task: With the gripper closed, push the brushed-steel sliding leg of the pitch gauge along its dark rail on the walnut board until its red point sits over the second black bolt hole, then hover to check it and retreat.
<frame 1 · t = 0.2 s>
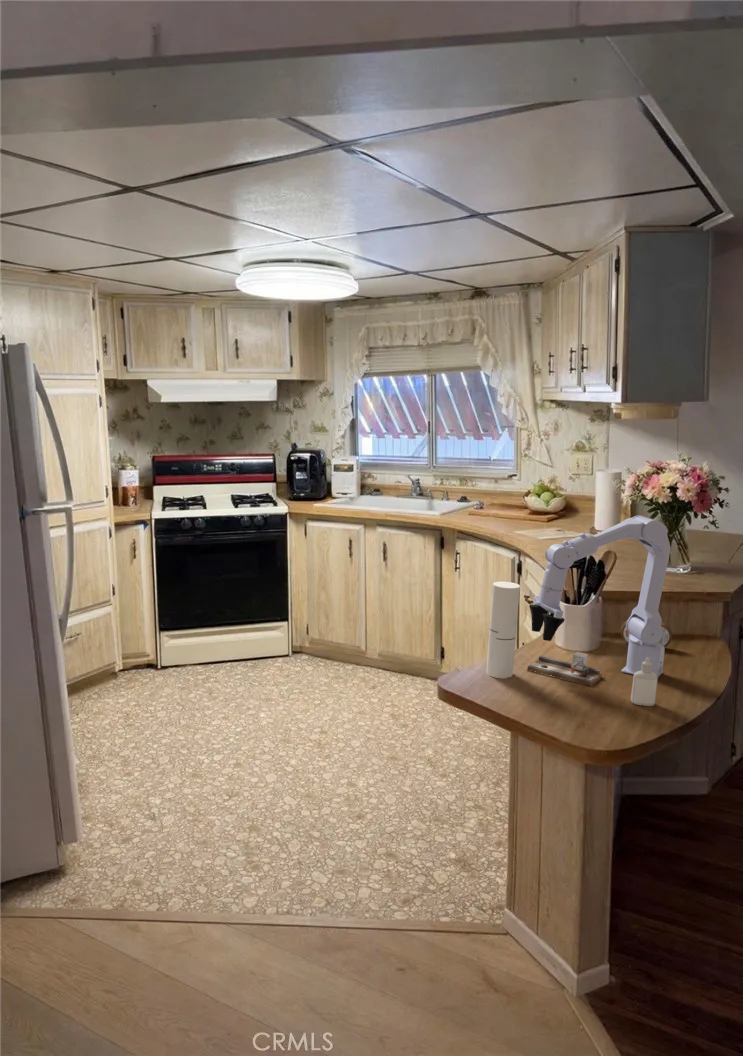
hand: (541, 635, 207), 11 cm above the table, tool pointing down, fingers open, 7 cm apart
eye dropper bottle: (642, 704, 190), on the table
gauge board: (564, 673, 208), on the table
tin: (644, 647, 236), on the table
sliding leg: (577, 663, 207), point 4 cm above the table, slide at 0.0 cm
cylindrical container: (499, 674, 206), on the table
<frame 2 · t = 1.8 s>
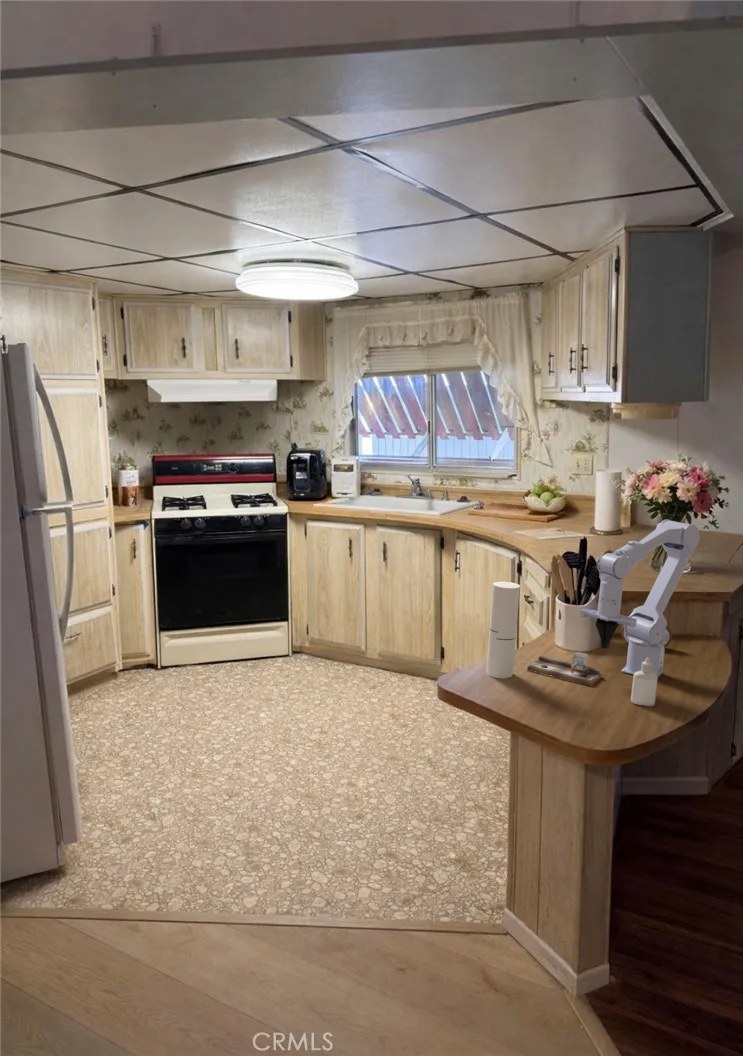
hand: (605, 647, 204), 9 cm above the table, tool pointing down, fingers closed
nothing on the table moved.
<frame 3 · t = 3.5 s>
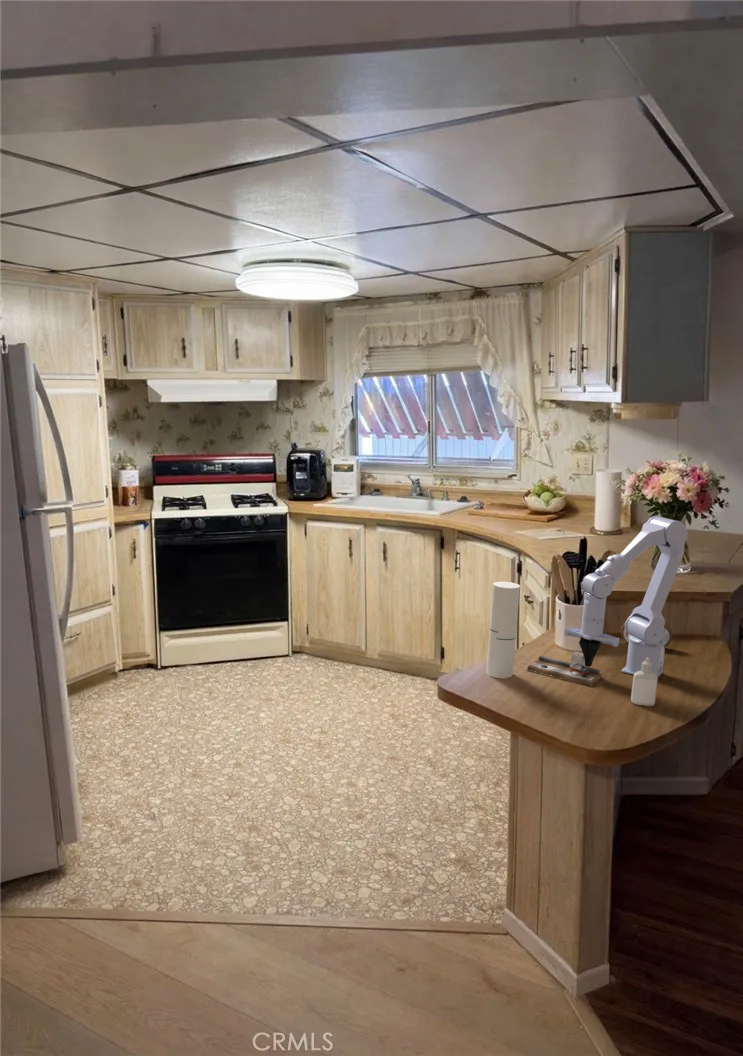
hand: (588, 665, 207), 3 cm above the table, tool pointing down, fingers closed
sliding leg: (575, 663, 207), point 4 cm above the table, slide at 0.4 cm, touching gripper
everything else where it was.
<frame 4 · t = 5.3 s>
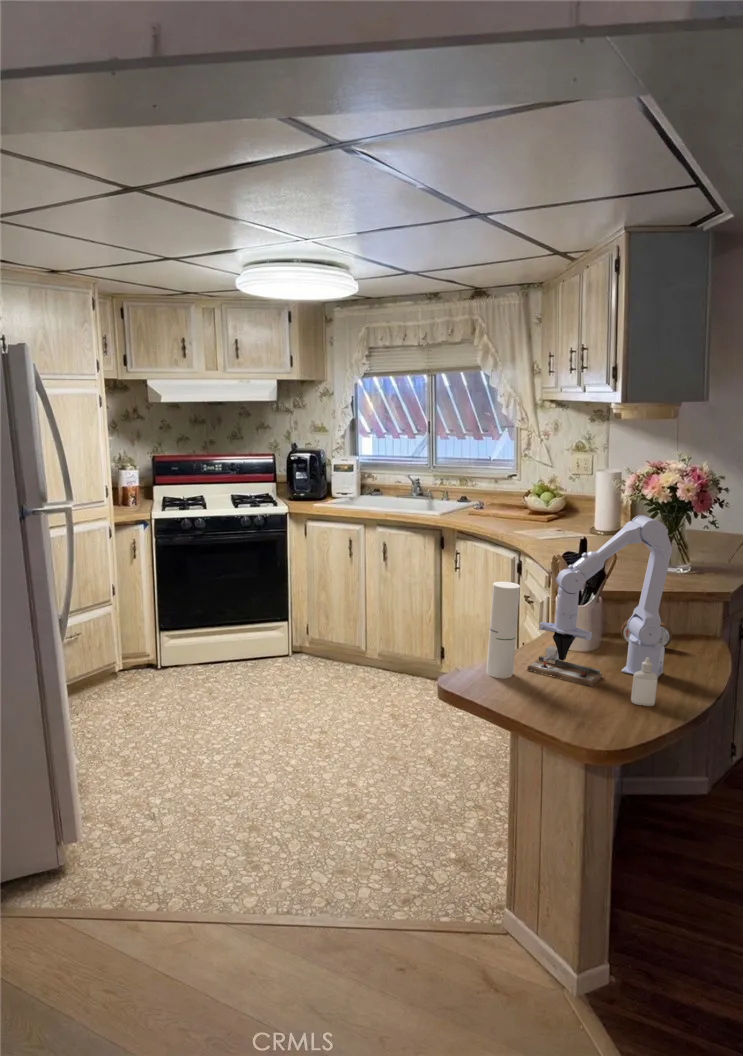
hand: (562, 659, 211), 3 cm above the table, tool pointing down, fingers closed
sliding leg: (549, 656, 211), point 3 cm above the table, slide at 7.9 cm, touching gripper
everything else where it was.
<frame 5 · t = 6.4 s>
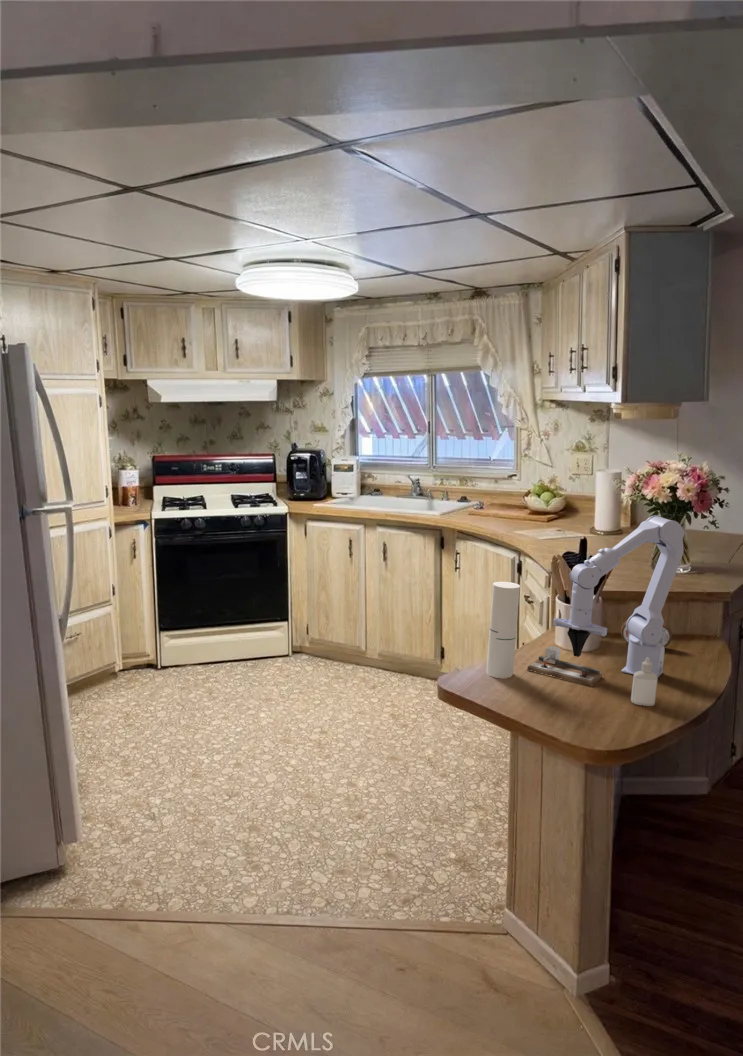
hand: (577, 655, 209), 5 cm above the table, tool pointing down, fingers closed
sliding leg: (549, 656, 211), point 4 cm above the table, slide at 7.9 cm
everything else where it was.
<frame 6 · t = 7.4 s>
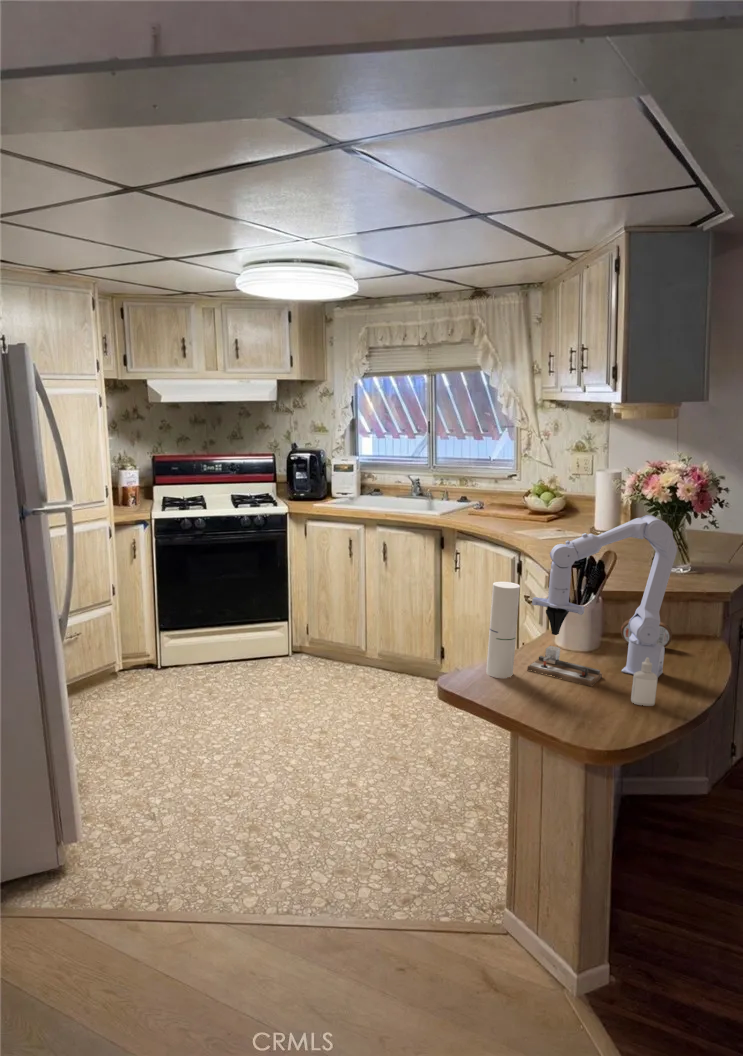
hand: (555, 633, 213), 9 cm above the table, tool pointing down, fingers closed
nothing on the table moved.
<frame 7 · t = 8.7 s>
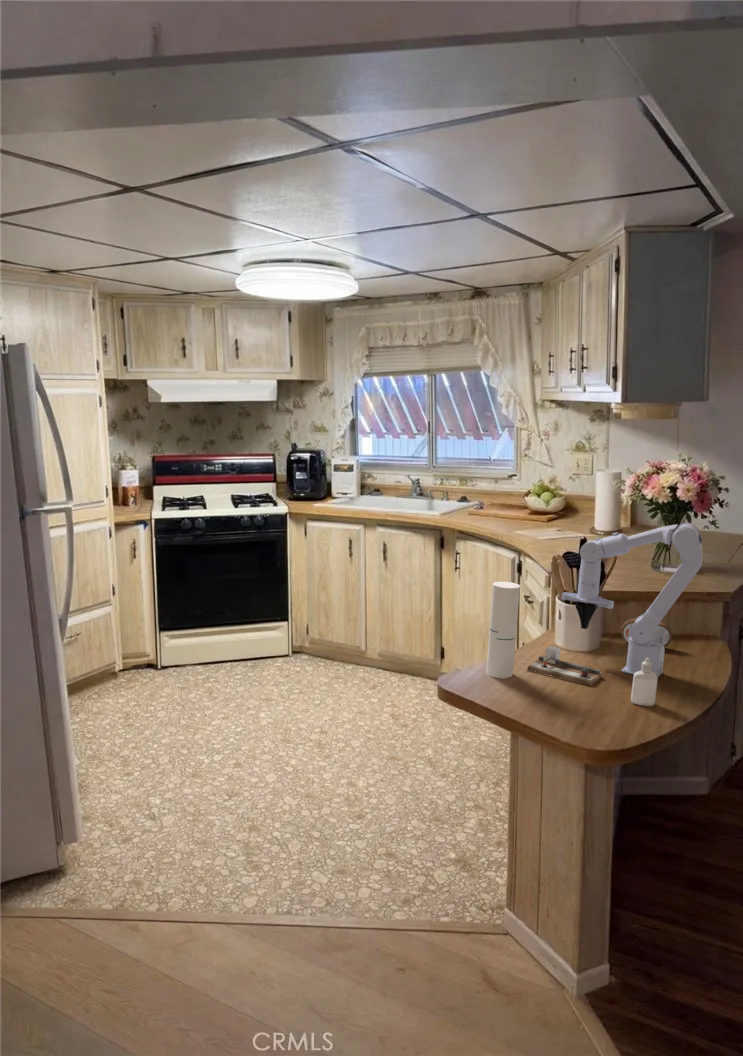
hand: (584, 627, 218), 10 cm above the table, tool pointing down, fingers closed
nothing on the table moved.
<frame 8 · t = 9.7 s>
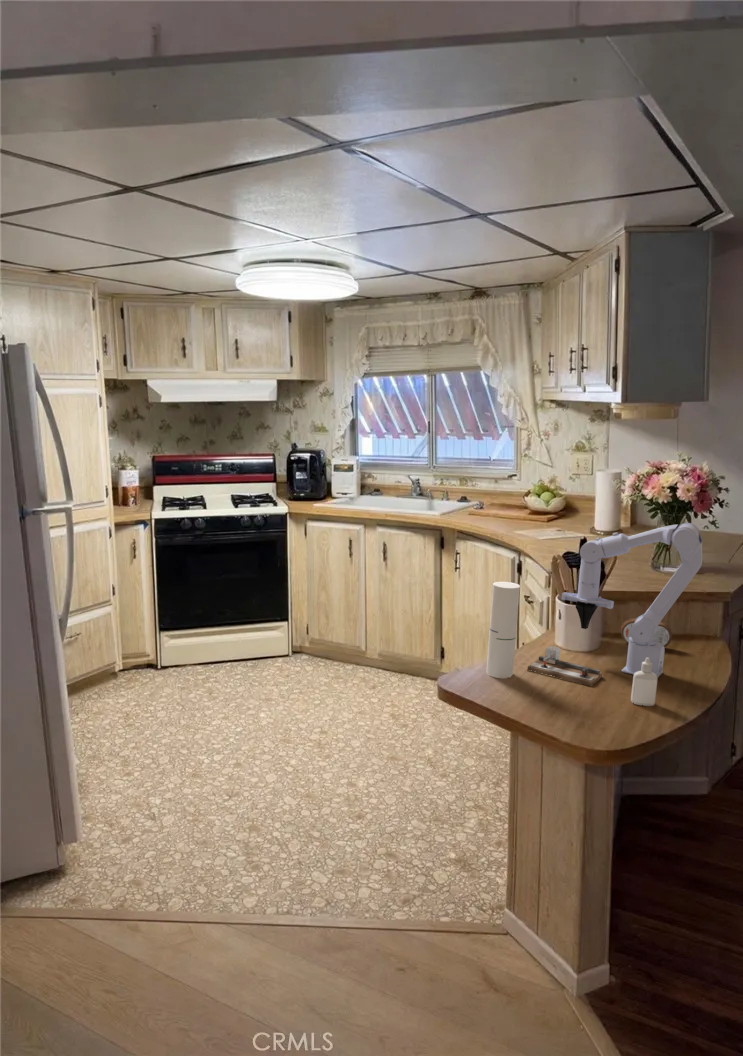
hand: (584, 627, 218), 10 cm above the table, tool pointing down, fingers closed
nothing on the table moved.
at the end: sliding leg slide at 7.9 cm; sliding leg touching nothing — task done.
